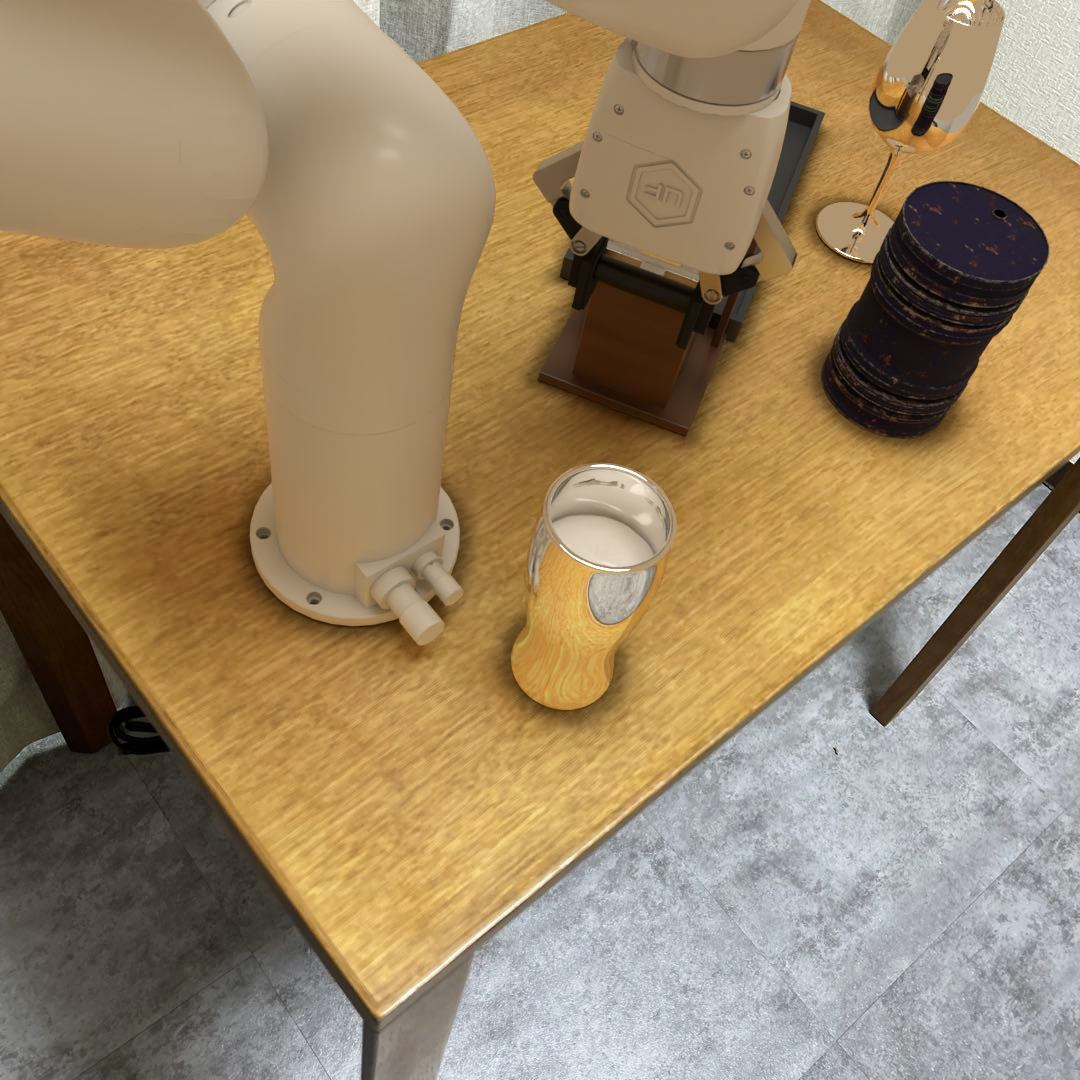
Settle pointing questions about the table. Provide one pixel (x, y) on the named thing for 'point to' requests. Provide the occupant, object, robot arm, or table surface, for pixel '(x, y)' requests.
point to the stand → (636, 357)
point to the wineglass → (919, 105)
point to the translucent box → (646, 276)
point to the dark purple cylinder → (932, 306)
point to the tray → (786, 178)
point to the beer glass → (589, 579)
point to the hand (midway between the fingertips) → (635, 313)
